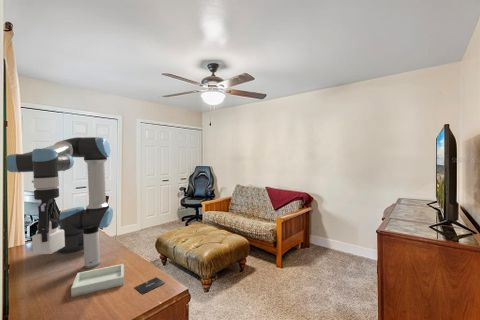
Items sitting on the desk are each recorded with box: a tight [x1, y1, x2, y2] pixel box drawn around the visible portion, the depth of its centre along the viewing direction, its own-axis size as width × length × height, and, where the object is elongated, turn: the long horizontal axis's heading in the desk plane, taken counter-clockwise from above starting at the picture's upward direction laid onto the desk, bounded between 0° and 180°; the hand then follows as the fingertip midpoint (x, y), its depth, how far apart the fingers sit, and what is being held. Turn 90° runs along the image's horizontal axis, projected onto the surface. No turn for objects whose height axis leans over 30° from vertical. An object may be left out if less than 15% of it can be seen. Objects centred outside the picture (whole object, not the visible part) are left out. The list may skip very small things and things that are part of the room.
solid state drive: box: [134, 276, 166, 295], centre depth 97 cm, size 7×10×1 cm
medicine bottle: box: [31, 218, 65, 255], centre depth 92 cm, size 7×7×12 cm
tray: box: [70, 263, 125, 298], centre depth 100 cm, size 13×18×4 cm
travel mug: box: [83, 225, 101, 269], centre depth 115 cm, size 6×7×20 cm
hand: (49, 245), depth 92 cm, fingers closed on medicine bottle, 9 cm apart
